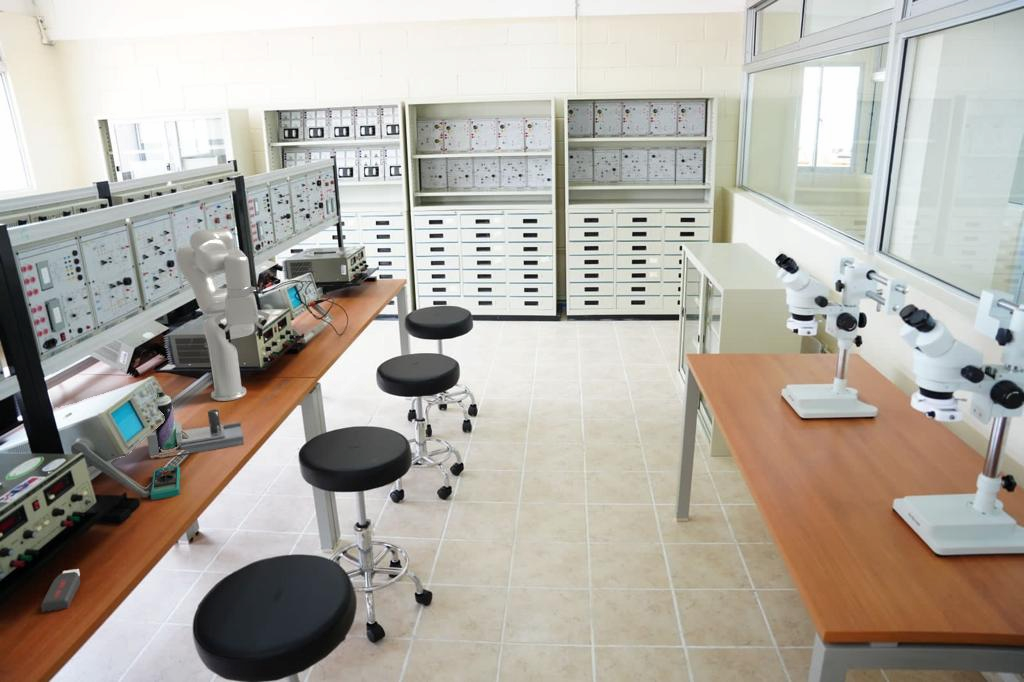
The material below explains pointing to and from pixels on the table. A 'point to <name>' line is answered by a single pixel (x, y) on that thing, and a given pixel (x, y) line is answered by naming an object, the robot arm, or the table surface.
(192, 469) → the table surface
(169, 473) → the digital multimeter
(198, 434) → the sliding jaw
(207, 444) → the vise frame
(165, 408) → the spray can
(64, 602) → the usb drive
